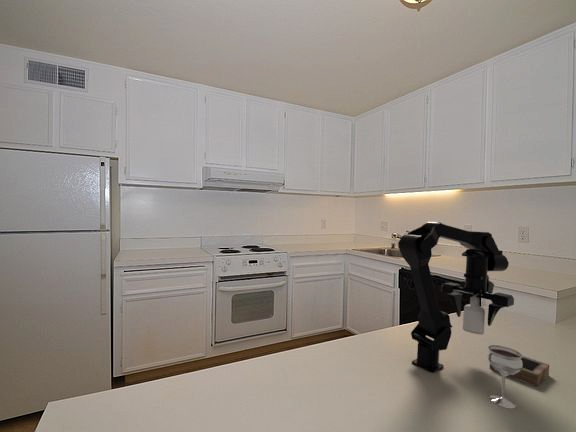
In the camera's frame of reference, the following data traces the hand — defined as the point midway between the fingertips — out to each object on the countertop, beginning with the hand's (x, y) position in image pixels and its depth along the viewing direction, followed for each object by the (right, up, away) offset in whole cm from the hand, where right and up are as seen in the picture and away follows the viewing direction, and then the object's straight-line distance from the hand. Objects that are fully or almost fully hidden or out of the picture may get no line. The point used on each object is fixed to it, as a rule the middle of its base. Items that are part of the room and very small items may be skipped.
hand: (473, 320), depth 92 cm
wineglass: (-7, -12, -22) cm, 26 cm away
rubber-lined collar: (+9, -12, -7) cm, 17 cm away
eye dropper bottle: (0, -4, 0) cm, 4 cm away
